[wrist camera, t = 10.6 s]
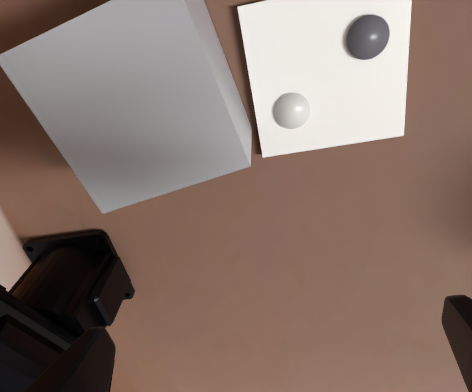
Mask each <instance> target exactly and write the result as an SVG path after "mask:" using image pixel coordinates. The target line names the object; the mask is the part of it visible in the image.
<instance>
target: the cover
mask: <svg viewBox="0 0 472 392" xmlns="http://www.w3.org/2000/svg"><path fill="white" fill-rule="evenodd" d="M0 66H1V67H2V69H3V70H4V72H5V73H6V74H7V76H8V77H9V79H10V80H11V82H12V83H13V85H14V86H15V88H16V89H17V90H18V92H19V93H20V95H21V96H22V98H23V99H24V101H25V102H26V103H27V105H28V106H29V108H30V109H31V111H32V112H33V114H34V115H35V116H36V118H37V119H38V121H39V122H40V124H41V125H42V127H43V128H44V130H45V131H46V132H47V134H48V135H49V137H50V138H51V140H52V141H53V143H54V144H55V145H56V147H57V148H58V150H59V151H60V153H61V154H62V156H63V157H64V159H65V160H66V161H67V163H68V164H69V166H70V167H71V169H72V170H73V172H74V173H75V174H76V176H77V177H78V179H79V180H80V182H81V183H82V185H83V186H84V188H85V189H86V190H87V192H88V193H89V195H90V196H91V198H92V199H93V201H94V202H95V203H96V205H97V206H98V208H99V209H100V211H101V212H102V214H104V213H107V212H110V211H113V210H116V209H119V208H122V207H125V206H129V205H132V204H135V203H138V202H141V201H144V200H147V199H150V198H153V197H157V196H160V195H163V194H166V193H169V192H172V191H175V190H178V189H182V188H185V187H188V186H191V185H194V184H197V183H200V182H203V181H206V180H210V179H213V178H216V177H219V176H222V175H225V174H228V173H231V172H234V171H238V170H241V169H244V168H247V167H250V166H251V138H252V128H251V125H250V122H249V120H248V117H247V114H246V111H245V109H244V106H243V103H242V101H241V98H240V95H239V93H238V90H237V87H236V85H235V82H234V79H233V77H232V74H231V71H230V69H229V66H228V63H227V61H226V58H225V55H224V53H223V50H222V47H221V45H220V42H219V39H218V37H217V34H216V31H215V29H214V26H213V23H212V21H211V18H210V15H209V13H208V10H207V7H206V5H205V2H204V0H111V1H109V2H107V3H104V4H102V5H100V6H98V7H96V8H94V9H92V10H90V11H88V12H86V13H84V14H82V15H80V16H78V17H76V18H74V19H72V20H70V21H67V22H65V23H63V24H61V25H59V26H57V27H55V28H53V29H51V30H49V31H47V32H45V33H43V34H41V35H39V36H37V37H35V38H33V39H30V40H28V41H26V42H24V43H22V44H20V45H18V46H16V47H14V48H12V49H10V50H8V51H6V52H4V53H2V54H0Z"/></svg>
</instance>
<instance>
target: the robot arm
mask: <svg viewBox="0 0 472 392" xmlns="http://www.w3.org/2000/svg"><path fill="white" fill-rule="evenodd" d="M99 237H101V238H102V239H100V238H99ZM23 250H24V251H25V253H26V254H27V256H28V257H29V259H30V260H31V262H32V264H31V265H30V266H29V268H28V269H27V270H26V271H25V272H24V274H23V275H22V276H21V277H20V279H19V280H18V281H17V282H16V283H15V285H14V286H13V287H12V289H10V291H9V292H7V291H6V288H5V287H3V286H2V285H0V392H110V388H111V381H112V374H113V367H114V357H115V344H114V342H113V341H112V339H111V337H110V336H109V334H108V332H107V330H106V329H105V328H106V326H111V324H112V323H113V321H114V319H115V317H116V314H117V312H118V310H119V307H120V305H121V303H122V301H123V300H125V299H131V298H133V295H134V293H135V290H134V288H133V286H132V284H131V280H130V278H129V276H128V274H127V272H126V270H125V268H124V266H123V263H122V261H121V259H120V257H119V256H118V255H117V253H116V251H115V249H114V247H113V244H112V242H111V240H110V238H109V236H108V235H107V233H105V232H103V231H94V232H87V233H79V234H72V235H64V236H57V237H49V238H42V239H34V240H28V241H27V242H26V243H25V244H24V245H23ZM127 292H128V293H127ZM442 325H443V328H444V331H445V333H446V336H447V338H448V341H449V343H450V346H451V348H452V351H453V354H454V356H455V359H456V361H457V364H458V366H459V369H460V371H461V374H462V376H463V379H464V381H465V384H466V386H467V389H468V391H469V392H472V299H470V298H469V297H467V296H465V295H453V296H447V297H446V298H445V301H444V307H443V313H442Z"/></svg>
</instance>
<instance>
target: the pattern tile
mask: <svg viewBox="0 0 472 392" xmlns="http://www.w3.org/2000/svg"><path fill="white" fill-rule="evenodd" d="M411 2H412V0H265V1H260V2H256V3H251V4H247V5H242V6H238V7H237V8H238V14H239V20H240V26H241V32H242V38H243V43H244V49H245V55H246V61H247V67H248V73H249V79H250V85H251V91H252V97H253V103H254V109H255V115H256V120H257V126H258V132H259V138H260V144H261V150H262V156H263V157H269V156H276V155H282V154H289V153H295V152H301V151H308V150H314V149H321V148H327V147H334V146H340V145H347V144H353V143H359V142H366V141H372V140H379V139H385V138H392V137H398V136H404V123H405V106H406V89H407V71H408V54H409V37H410V20H411Z"/></svg>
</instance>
